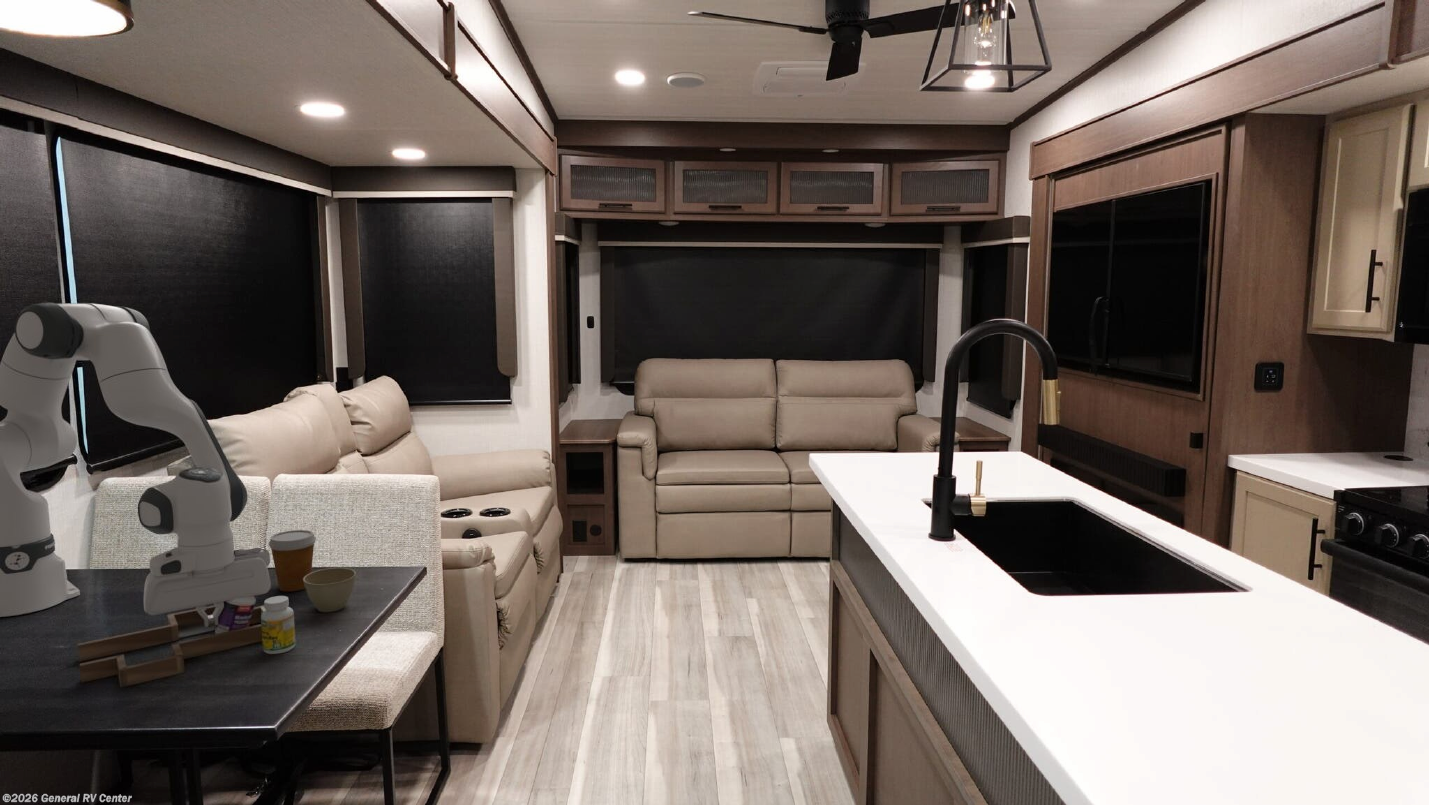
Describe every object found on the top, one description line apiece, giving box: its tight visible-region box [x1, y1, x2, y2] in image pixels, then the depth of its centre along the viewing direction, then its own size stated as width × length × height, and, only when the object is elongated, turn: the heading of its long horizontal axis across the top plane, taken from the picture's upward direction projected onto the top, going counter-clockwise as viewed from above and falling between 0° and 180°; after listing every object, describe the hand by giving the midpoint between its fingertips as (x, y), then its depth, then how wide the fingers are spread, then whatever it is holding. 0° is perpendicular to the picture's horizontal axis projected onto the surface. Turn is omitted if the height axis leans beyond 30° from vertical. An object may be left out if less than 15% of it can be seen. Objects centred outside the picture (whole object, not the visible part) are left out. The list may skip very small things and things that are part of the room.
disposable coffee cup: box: [267, 529, 317, 592], centre depth 180 cm, size 10×10×12 cm
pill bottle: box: [214, 596, 257, 634], centre depth 154 cm, size 5×5×10 cm
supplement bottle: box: [260, 595, 296, 655], centre depth 149 cm, size 5×5×10 cm
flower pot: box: [303, 567, 357, 613], centre depth 169 cm, size 10×10×7 cm
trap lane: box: [77, 604, 266, 688], centre depth 149 cm, size 23×30×3 cm
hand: (211, 625), depth 151 cm, fingers closed
